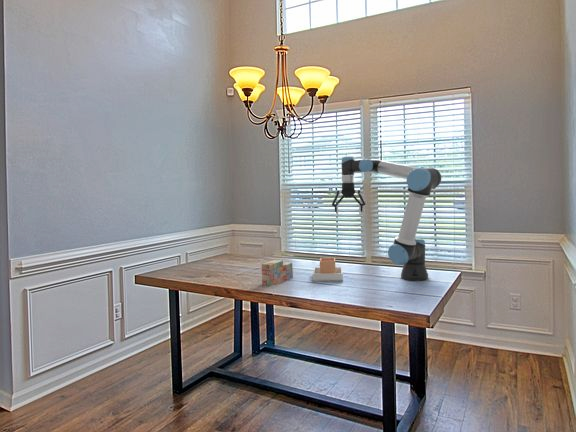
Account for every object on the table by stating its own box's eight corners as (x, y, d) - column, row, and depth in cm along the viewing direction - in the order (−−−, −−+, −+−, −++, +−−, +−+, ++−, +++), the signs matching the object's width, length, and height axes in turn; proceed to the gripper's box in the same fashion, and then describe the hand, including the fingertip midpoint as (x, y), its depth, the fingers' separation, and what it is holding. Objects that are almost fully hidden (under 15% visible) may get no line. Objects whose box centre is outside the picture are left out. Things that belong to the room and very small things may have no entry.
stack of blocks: (284, 276, 253) (284, 256, 251) (293, 277, 249) (292, 257, 248) (262, 284, 236) (261, 263, 234) (270, 286, 232) (269, 264, 231)
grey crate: (342, 274, 253) (342, 267, 253) (342, 281, 237) (342, 273, 236) (314, 274, 255) (314, 267, 255) (312, 281, 238) (312, 273, 238)
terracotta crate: (335, 274, 250) (335, 257, 249) (335, 277, 241) (335, 261, 240) (320, 274, 251) (320, 258, 250) (320, 278, 242) (319, 261, 241)
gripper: (368, 181, 253) (368, 216, 256) (327, 182, 256) (328, 216, 258) (369, 181, 246) (369, 217, 248) (327, 183, 249) (328, 218, 251)
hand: (348, 217), depth 253 cm, fingers open, 13 cm apart
